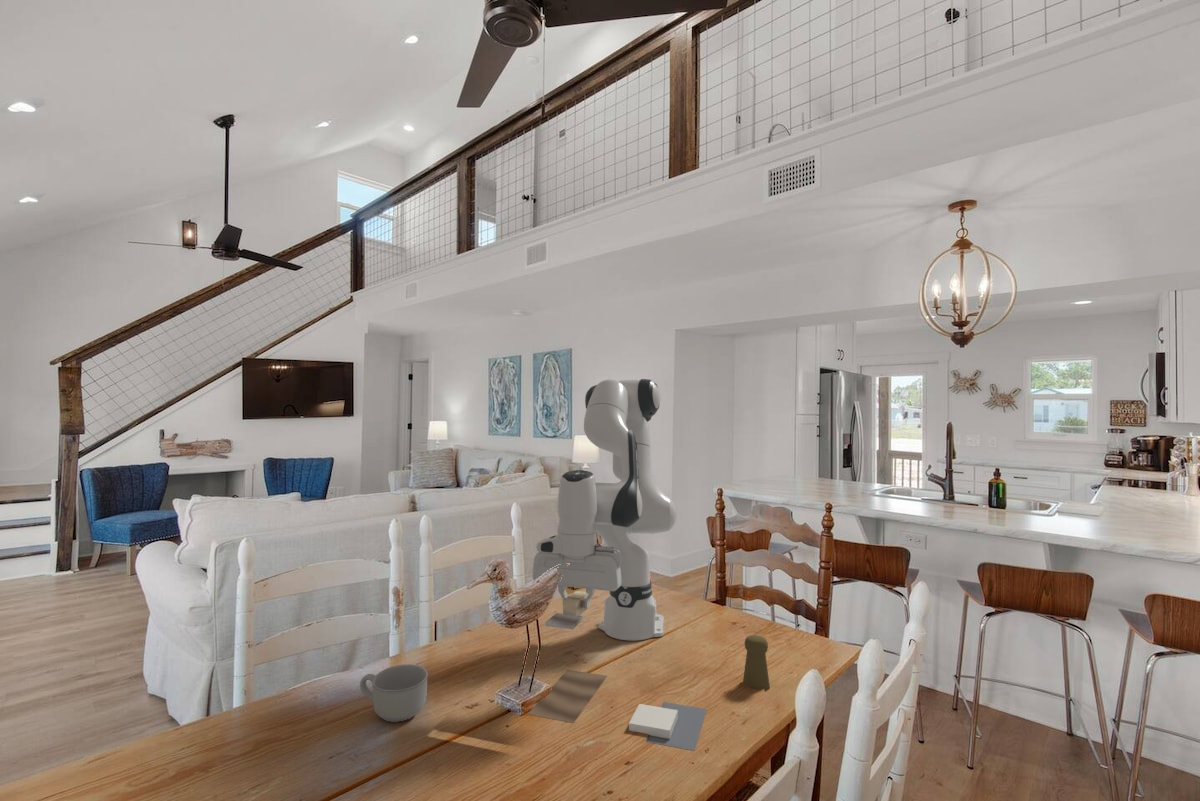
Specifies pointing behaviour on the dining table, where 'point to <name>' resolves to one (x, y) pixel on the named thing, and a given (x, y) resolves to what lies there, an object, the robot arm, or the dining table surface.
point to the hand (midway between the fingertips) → (576, 606)
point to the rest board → (568, 696)
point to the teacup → (397, 691)
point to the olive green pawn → (756, 663)
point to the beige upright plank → (569, 612)
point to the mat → (683, 727)
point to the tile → (654, 721)
